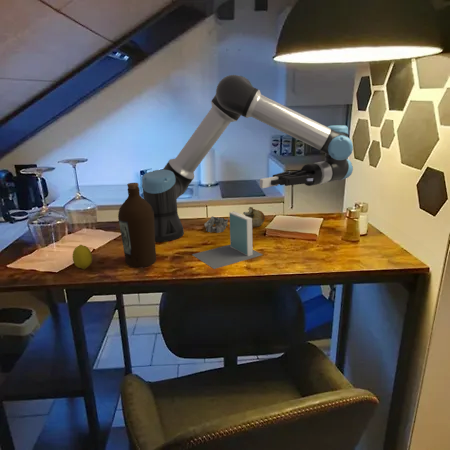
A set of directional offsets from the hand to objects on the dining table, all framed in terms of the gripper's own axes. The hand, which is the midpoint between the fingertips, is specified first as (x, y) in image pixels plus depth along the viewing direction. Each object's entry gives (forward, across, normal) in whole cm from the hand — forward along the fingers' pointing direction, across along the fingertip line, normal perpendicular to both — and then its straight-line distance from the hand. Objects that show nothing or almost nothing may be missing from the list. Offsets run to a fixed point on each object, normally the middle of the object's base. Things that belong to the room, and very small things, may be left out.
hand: (261, 183), depth 130 cm
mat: (+14, 0, -22) cm, 26 cm away
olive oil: (+38, +13, -22) cm, 46 cm away
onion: (-11, +19, -22) cm, 31 cm away
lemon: (+54, +18, -22) cm, 61 cm away
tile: (+8, 0, -21) cm, 23 cm away
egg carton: (+2, +26, -22) cm, 34 cm away
